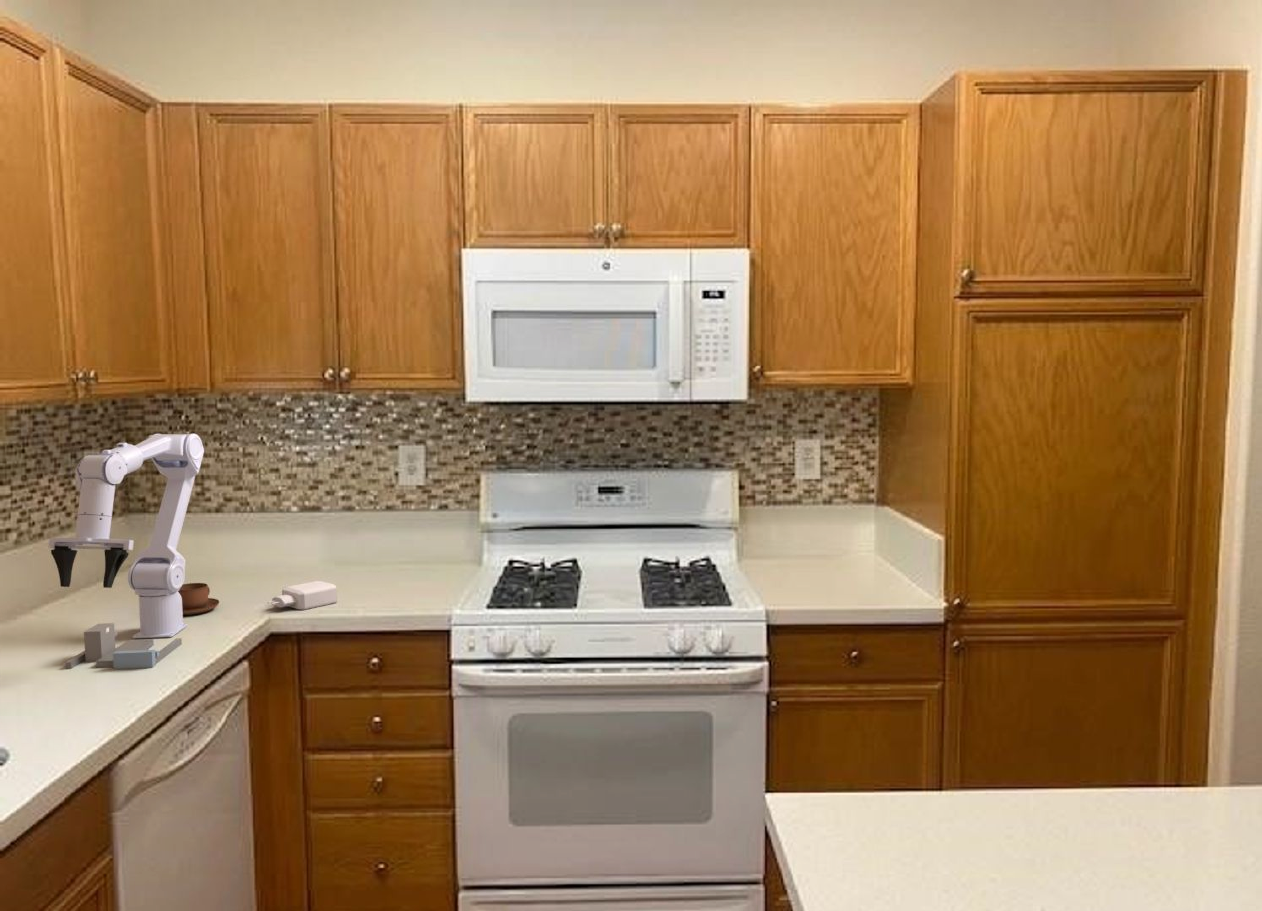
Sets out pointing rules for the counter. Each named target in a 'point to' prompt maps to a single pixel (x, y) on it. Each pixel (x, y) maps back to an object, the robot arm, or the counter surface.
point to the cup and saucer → (196, 598)
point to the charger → (306, 595)
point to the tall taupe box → (99, 641)
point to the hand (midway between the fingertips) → (86, 587)
